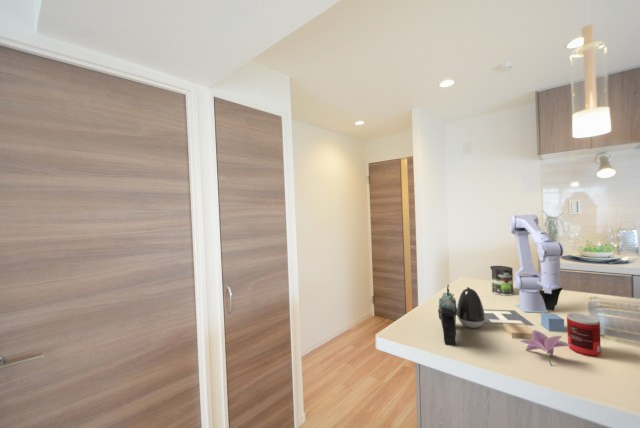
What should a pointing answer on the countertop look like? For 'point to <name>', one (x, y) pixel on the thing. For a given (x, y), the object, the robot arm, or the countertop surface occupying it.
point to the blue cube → (552, 322)
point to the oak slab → (518, 330)
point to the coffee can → (501, 280)
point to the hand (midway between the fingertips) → (551, 307)
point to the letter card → (504, 317)
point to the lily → (544, 343)
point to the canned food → (584, 334)
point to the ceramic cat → (448, 317)
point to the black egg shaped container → (470, 309)
